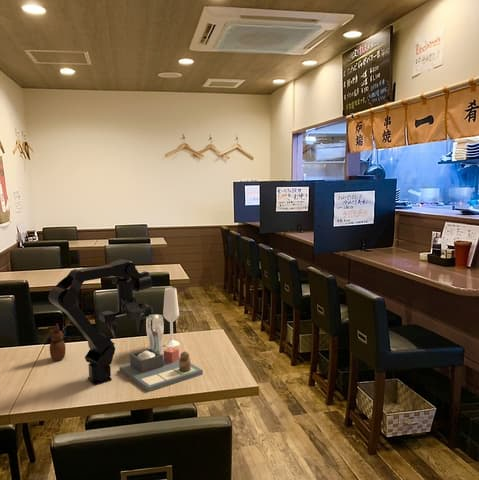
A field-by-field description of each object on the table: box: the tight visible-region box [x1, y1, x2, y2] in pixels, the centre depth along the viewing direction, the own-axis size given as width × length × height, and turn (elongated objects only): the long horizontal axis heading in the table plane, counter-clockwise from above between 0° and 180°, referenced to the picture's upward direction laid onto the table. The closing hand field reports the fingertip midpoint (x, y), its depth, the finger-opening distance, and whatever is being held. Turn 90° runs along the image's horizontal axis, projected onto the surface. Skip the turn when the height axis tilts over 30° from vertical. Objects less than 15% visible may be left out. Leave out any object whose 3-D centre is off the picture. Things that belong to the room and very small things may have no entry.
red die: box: [163, 347, 180, 363], centre depth 181 cm, size 4×4×4 cm
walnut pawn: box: [179, 351, 191, 372], centre depth 172 cm, size 4×4×7 cm
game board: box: [119, 348, 204, 392], centre depth 174 cm, size 22×22×6 cm
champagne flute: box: [162, 287, 180, 348], centre depth 200 cm, size 7×7×24 cm
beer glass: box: [145, 313, 165, 355], centre depth 192 cm, size 7×7×15 cm
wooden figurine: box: [49, 322, 66, 361], centre depth 185 cm, size 7×6×15 cm
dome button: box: [138, 351, 155, 360], centre depth 175 cm, size 6×6×4 cm
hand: (127, 335), depth 175 cm, fingers open, 9 cm apart
